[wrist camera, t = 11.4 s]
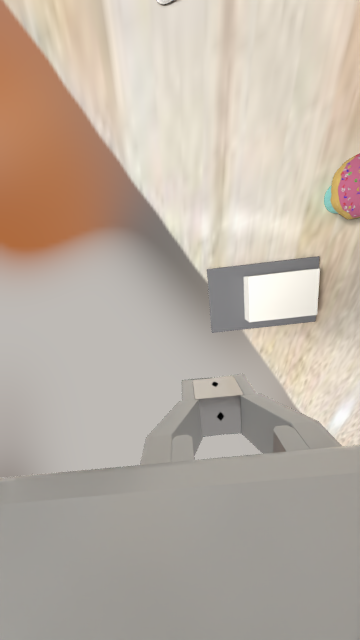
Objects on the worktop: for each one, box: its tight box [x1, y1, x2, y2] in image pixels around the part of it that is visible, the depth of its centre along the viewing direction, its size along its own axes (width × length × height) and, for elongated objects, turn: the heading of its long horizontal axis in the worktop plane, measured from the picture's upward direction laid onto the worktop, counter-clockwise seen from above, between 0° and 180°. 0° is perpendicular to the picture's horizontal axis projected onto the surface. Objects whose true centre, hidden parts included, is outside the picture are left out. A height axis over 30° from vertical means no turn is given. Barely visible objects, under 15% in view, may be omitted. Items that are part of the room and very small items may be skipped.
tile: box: [244, 268, 320, 322], centre depth 33 cm, size 2×8×12 cm
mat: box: [207, 256, 319, 333], centre depth 35 cm, size 20×12×1 cm, turn 96°
